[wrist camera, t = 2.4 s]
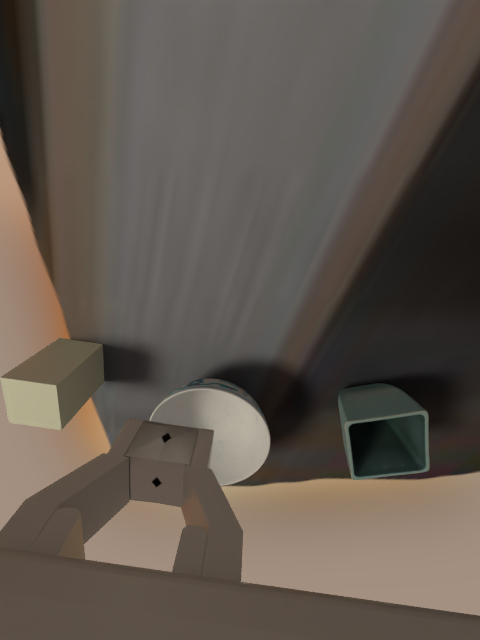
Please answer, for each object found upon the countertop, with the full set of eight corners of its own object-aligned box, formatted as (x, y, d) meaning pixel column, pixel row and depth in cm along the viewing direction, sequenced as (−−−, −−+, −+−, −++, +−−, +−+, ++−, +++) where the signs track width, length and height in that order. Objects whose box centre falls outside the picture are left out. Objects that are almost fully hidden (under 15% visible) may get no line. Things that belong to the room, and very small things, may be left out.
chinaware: (144, 385, 42) (122, 421, 35) (232, 337, 39) (226, 367, 31) (203, 455, 46) (193, 500, 39) (286, 417, 43) (292, 460, 36)
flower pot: (325, 378, 40) (344, 423, 32) (392, 367, 39) (429, 410, 31) (333, 428, 43) (352, 481, 35) (395, 419, 42) (430, 472, 34)
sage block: (63, 375, 42) (9, 422, 33) (59, 338, 40) (-1, 377, 31) (104, 380, 42) (61, 430, 33) (102, 344, 40) (56, 385, 31)
